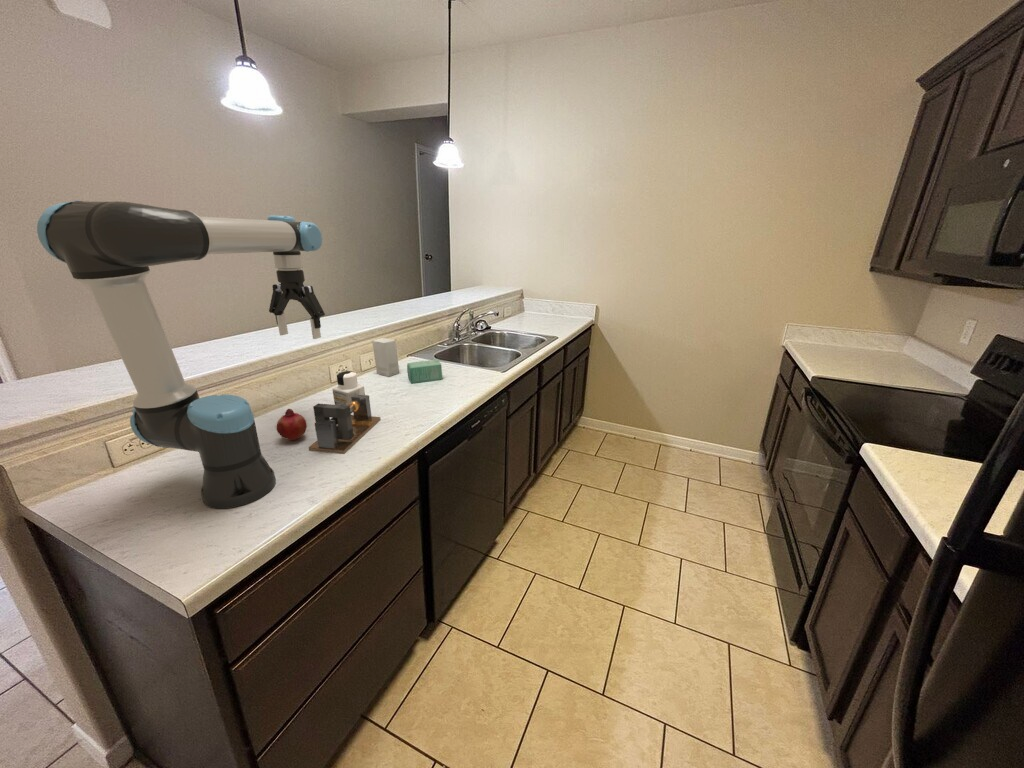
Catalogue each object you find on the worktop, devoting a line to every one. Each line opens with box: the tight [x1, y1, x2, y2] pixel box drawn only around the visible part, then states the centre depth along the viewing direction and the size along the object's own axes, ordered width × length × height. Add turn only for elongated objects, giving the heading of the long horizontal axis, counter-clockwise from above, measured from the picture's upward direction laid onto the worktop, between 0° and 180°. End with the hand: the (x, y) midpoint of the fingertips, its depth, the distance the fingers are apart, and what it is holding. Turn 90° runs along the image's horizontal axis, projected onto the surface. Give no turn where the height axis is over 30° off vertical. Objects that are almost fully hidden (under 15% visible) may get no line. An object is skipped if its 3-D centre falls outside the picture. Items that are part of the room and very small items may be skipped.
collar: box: [312, 402, 354, 440], centre depth 121 cm, size 2×10×10 cm, turn 81°
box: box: [406, 359, 443, 385], centre depth 176 cm, size 7×14×8 cm, turn 115°
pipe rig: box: [308, 394, 381, 455], centre depth 127 cm, size 23×11×9 cm, turn 171°
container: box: [332, 370, 366, 406], centre depth 147 cm, size 8×8×13 cm
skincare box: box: [371, 337, 400, 378], centre depth 181 cm, size 8×7×16 cm
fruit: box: [275, 408, 308, 441], centre depth 124 cm, size 8×8×10 cm
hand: (300, 336), depth 135 cm, fingers open, 13 cm apart
